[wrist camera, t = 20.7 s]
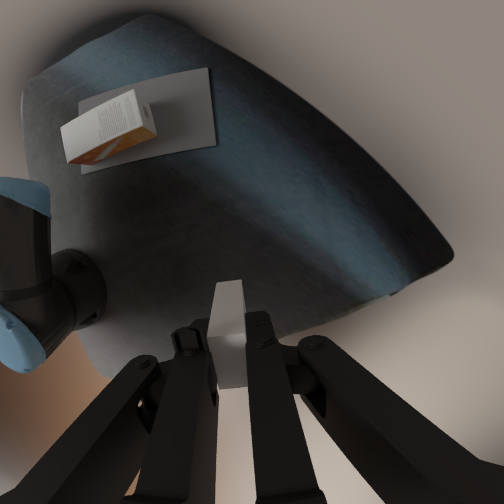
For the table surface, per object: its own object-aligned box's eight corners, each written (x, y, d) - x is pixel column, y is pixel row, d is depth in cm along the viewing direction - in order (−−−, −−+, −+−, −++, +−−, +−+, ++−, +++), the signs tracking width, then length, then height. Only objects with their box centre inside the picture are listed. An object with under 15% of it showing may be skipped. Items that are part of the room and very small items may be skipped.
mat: (83, 174, 41) (81, 174, 40) (80, 102, 38) (78, 101, 37) (216, 145, 41) (216, 145, 41) (208, 68, 38) (207, 67, 38)
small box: (158, 136, 40) (91, 166, 40) (149, 102, 38) (84, 133, 39) (142, 126, 32) (66, 163, 32) (133, 87, 30) (59, 126, 31)
